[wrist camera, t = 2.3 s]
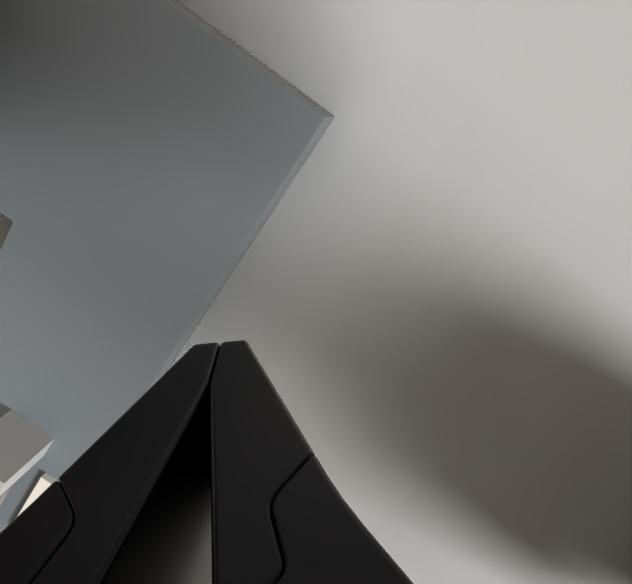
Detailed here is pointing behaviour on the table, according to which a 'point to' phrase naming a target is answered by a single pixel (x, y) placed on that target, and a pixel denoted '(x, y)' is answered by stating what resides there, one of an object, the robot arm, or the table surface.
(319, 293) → the table surface
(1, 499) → the cream capped lever
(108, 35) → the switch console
